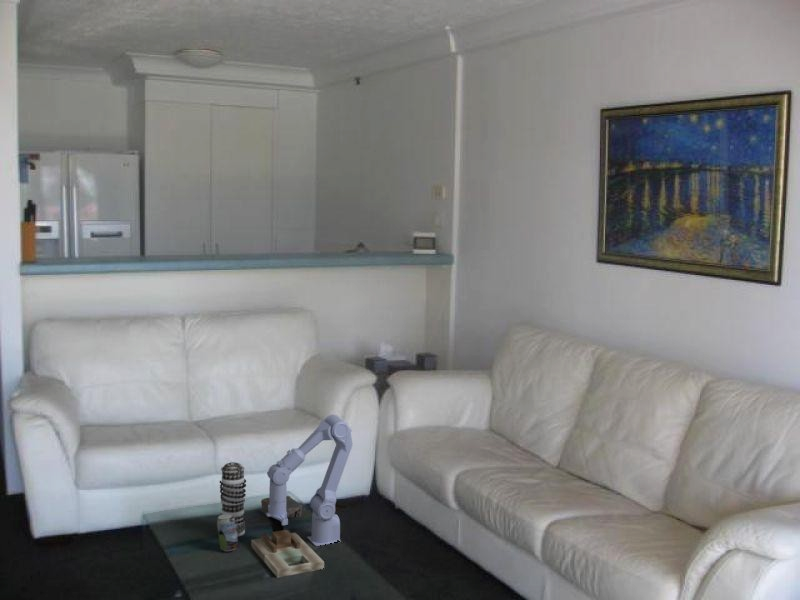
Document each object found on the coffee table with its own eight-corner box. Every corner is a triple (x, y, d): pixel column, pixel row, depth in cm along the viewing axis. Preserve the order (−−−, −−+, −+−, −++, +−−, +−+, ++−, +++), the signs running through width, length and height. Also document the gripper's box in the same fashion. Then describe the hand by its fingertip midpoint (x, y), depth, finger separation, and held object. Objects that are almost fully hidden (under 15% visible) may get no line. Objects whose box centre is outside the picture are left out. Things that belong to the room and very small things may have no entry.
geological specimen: (276, 511, 350) (258, 496, 362) (276, 526, 351) (258, 511, 363) (302, 505, 355) (284, 490, 368) (302, 520, 357) (284, 505, 369)
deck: (295, 539, 337) (295, 527, 337) (324, 568, 315) (324, 556, 314) (251, 546, 330) (251, 534, 329) (277, 577, 307) (277, 564, 307)
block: (285, 541, 330) (285, 529, 329) (290, 546, 325) (291, 535, 324) (271, 543, 327) (271, 532, 327) (276, 549, 323) (276, 537, 322)
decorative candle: (243, 538, 337) (243, 469, 333) (217, 537, 337) (217, 468, 333) (248, 527, 346) (248, 460, 342) (222, 527, 346) (222, 459, 342)
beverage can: (234, 554, 324) (234, 520, 322) (213, 551, 325) (213, 518, 323) (241, 546, 330) (241, 513, 328) (220, 544, 331) (220, 511, 329)
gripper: (259, 494, 332) (259, 531, 334) (273, 508, 319) (273, 547, 321) (279, 491, 335) (278, 528, 337) (294, 505, 322) (293, 544, 325)
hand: (277, 537), depth 330 cm, fingers closed
